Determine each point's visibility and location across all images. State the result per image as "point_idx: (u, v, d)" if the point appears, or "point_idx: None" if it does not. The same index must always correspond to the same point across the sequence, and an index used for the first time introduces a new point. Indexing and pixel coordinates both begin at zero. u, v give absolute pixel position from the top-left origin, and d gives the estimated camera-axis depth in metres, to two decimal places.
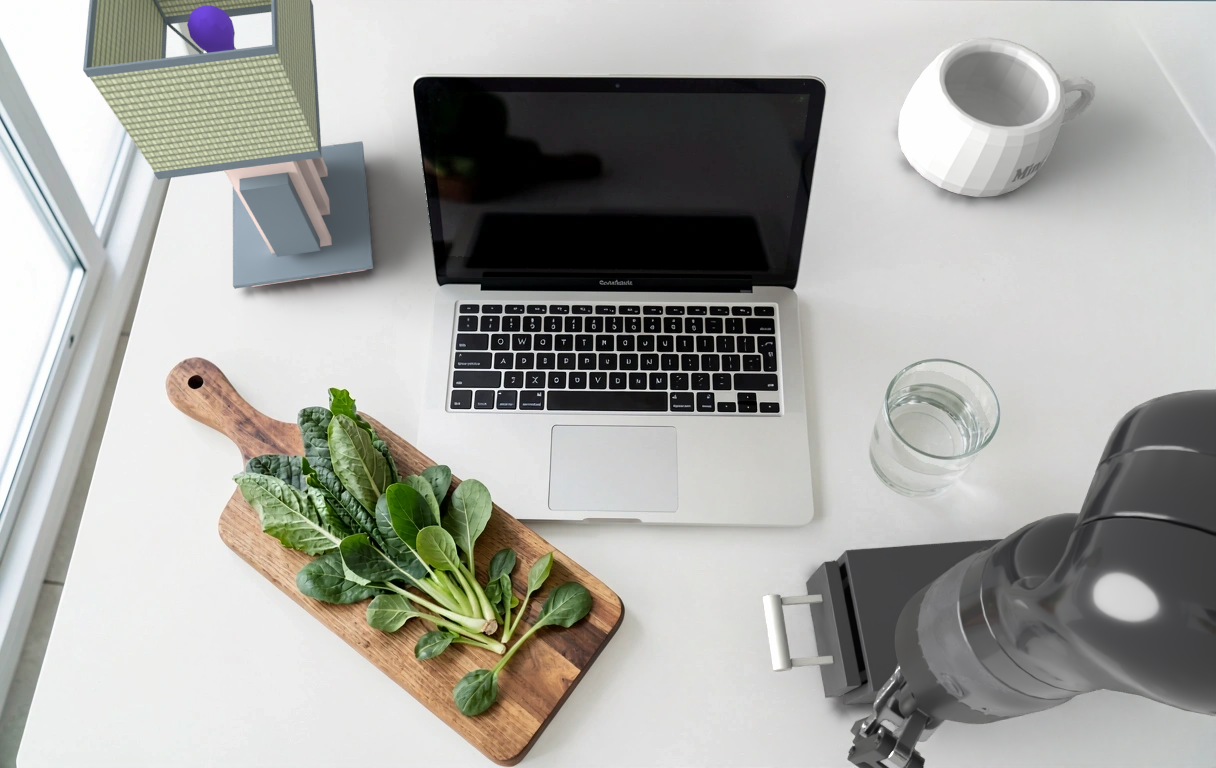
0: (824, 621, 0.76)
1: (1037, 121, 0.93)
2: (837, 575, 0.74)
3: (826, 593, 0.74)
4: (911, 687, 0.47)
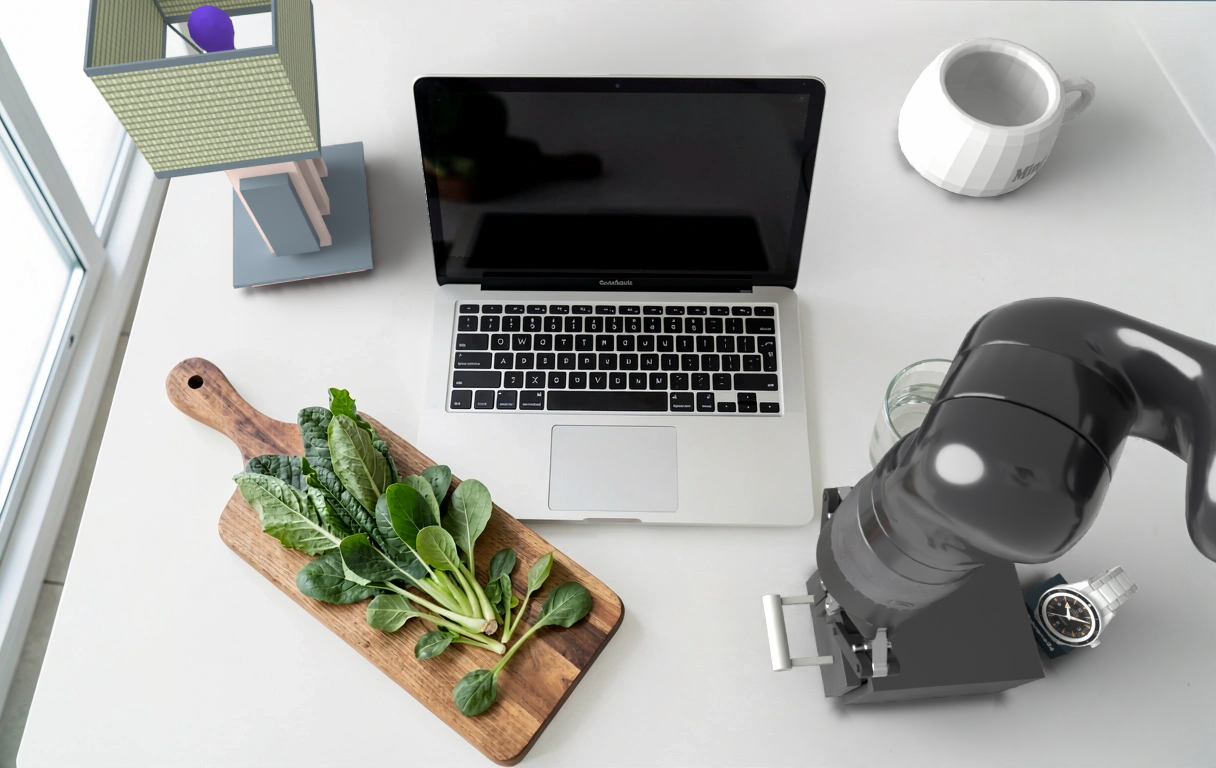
0: None
1: (1037, 121, 0.93)
2: None
3: None
4: (866, 619, 0.53)
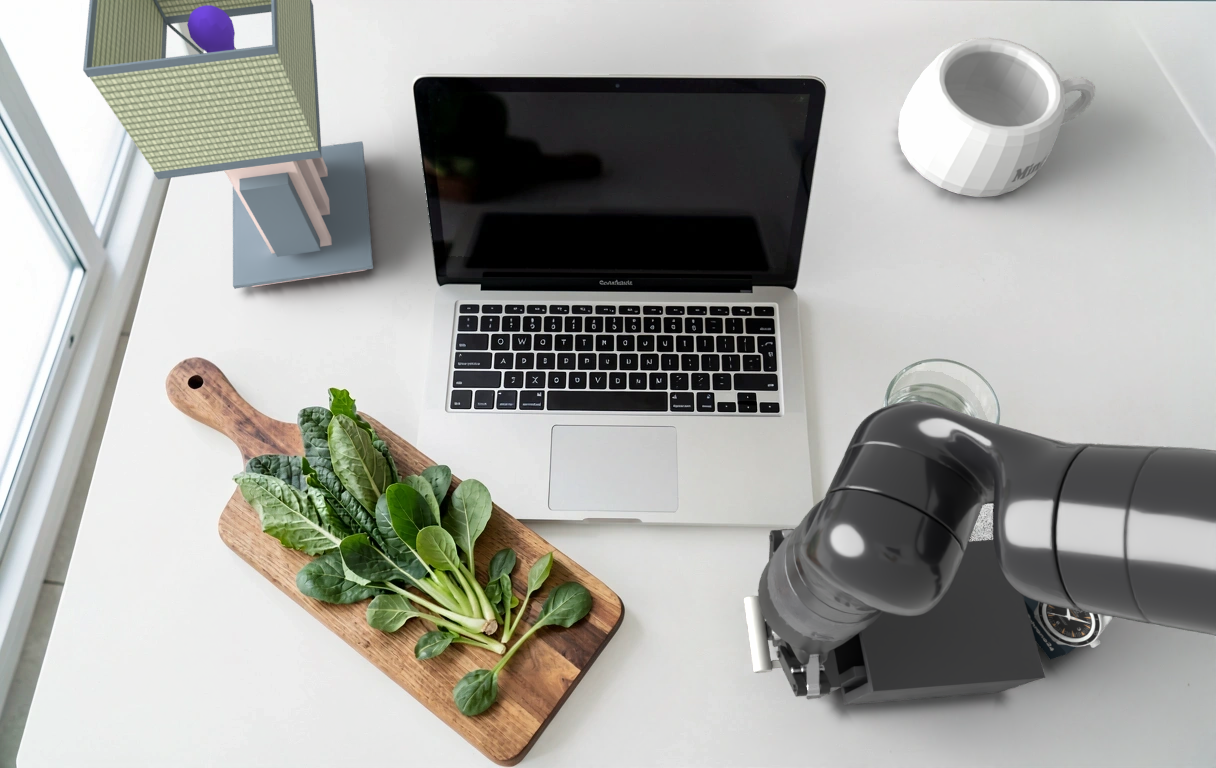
0: None
1: (1037, 121, 0.93)
2: None
3: None
4: (798, 647, 0.62)
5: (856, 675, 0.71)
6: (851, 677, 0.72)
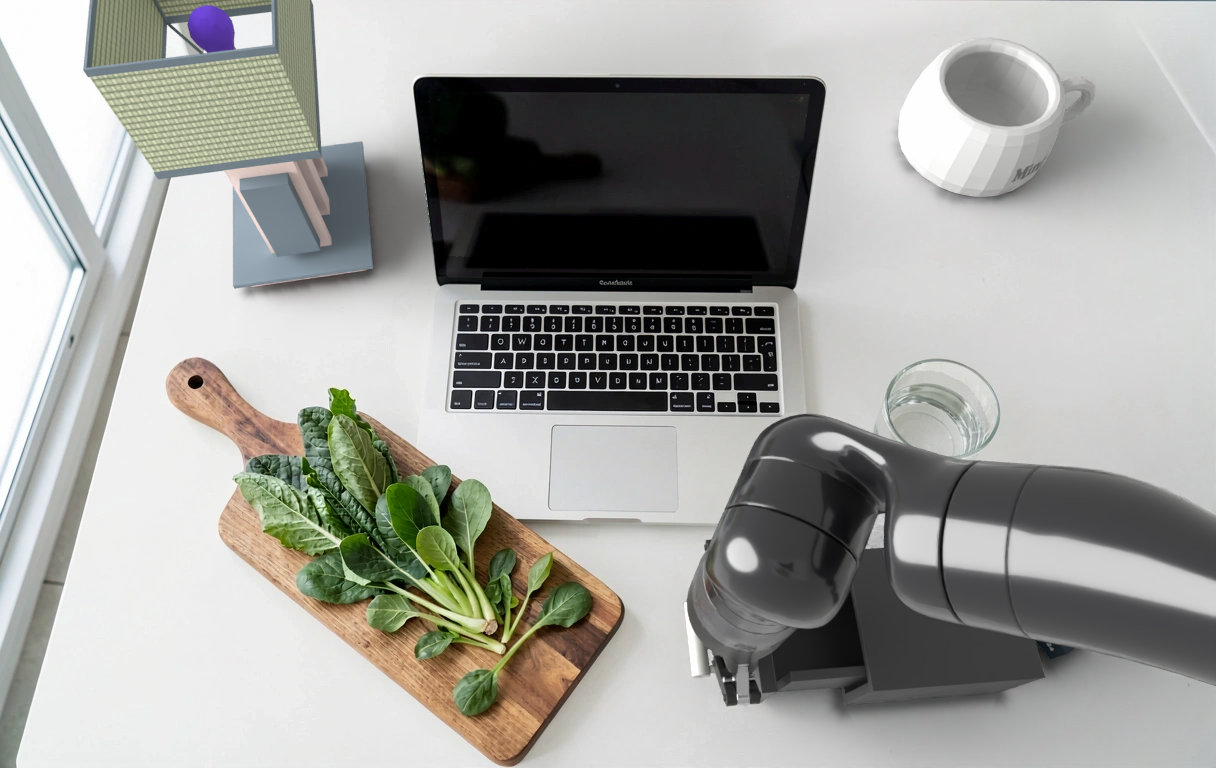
0: None
1: (1037, 121, 0.93)
2: None
3: None
4: (725, 657, 0.62)
5: (792, 680, 0.71)
6: (788, 682, 0.72)
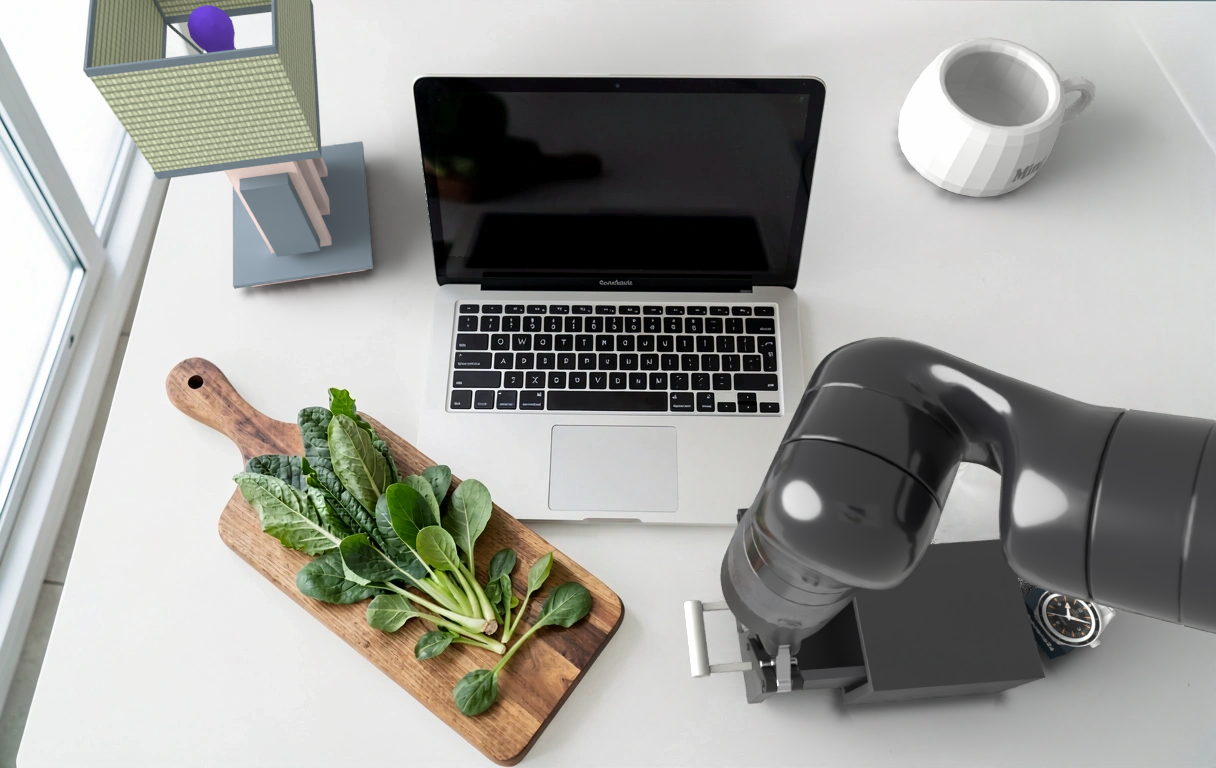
0: None
1: (1037, 121, 0.93)
2: None
3: None
4: (765, 637, 0.55)
5: None
6: None
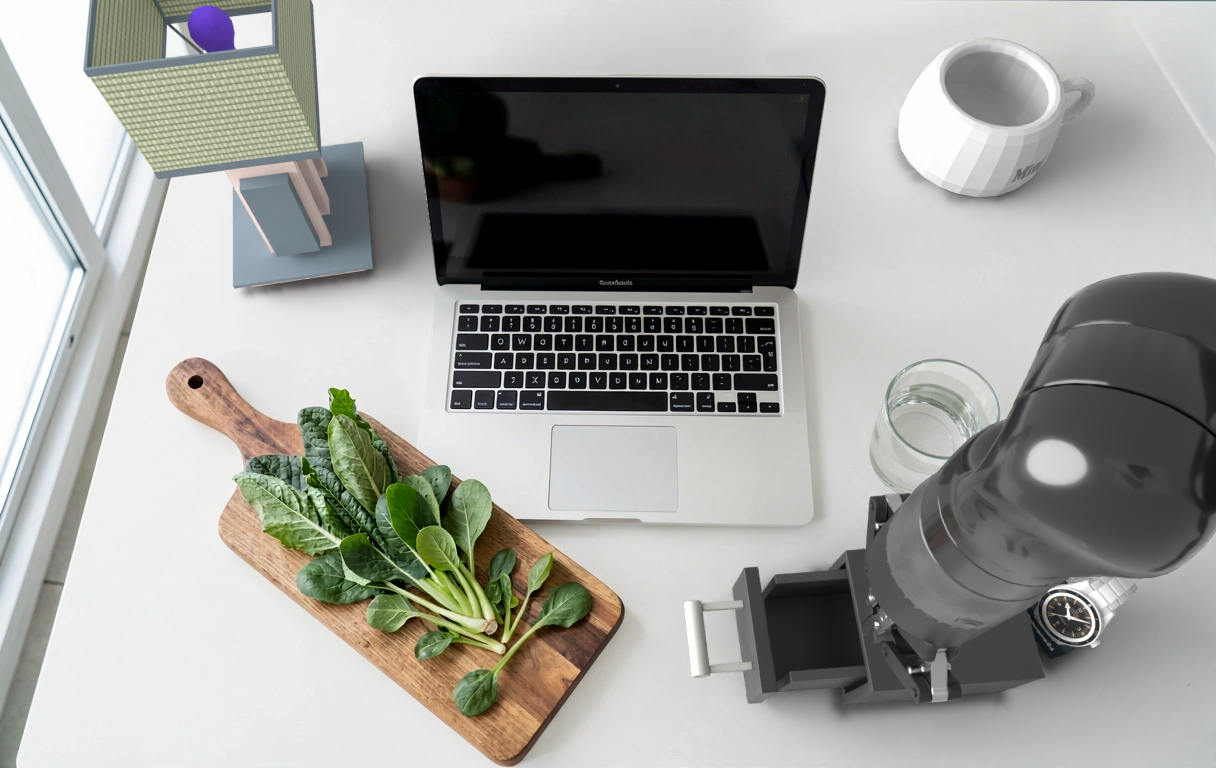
0: (745, 627, 0.75)
1: (1037, 121, 0.93)
2: (756, 581, 0.74)
3: (746, 599, 0.74)
4: (925, 639, 0.48)
5: (792, 680, 0.71)
6: (788, 682, 0.72)
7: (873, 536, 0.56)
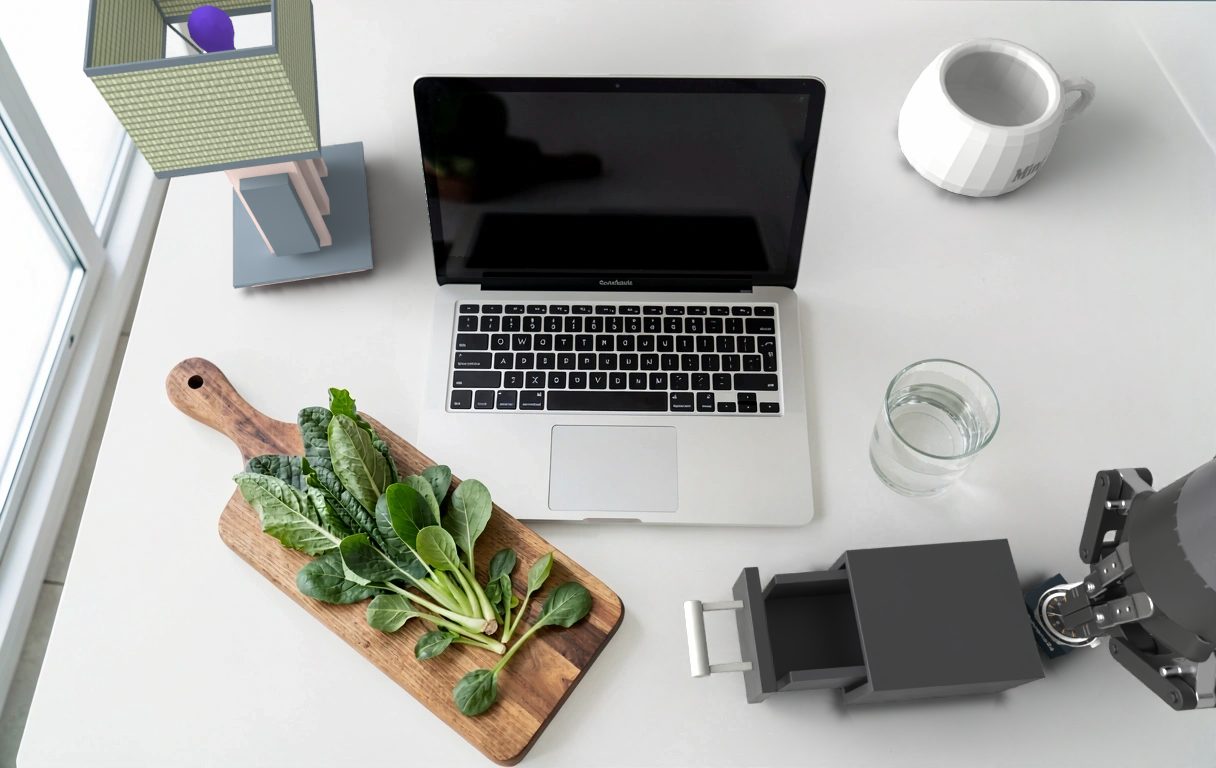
0: (745, 627, 0.75)
1: (1037, 121, 0.93)
2: (756, 581, 0.74)
3: (746, 599, 0.74)
4: (1208, 637, 0.41)
5: (792, 680, 0.71)
6: (788, 682, 0.72)
7: (1101, 516, 0.49)
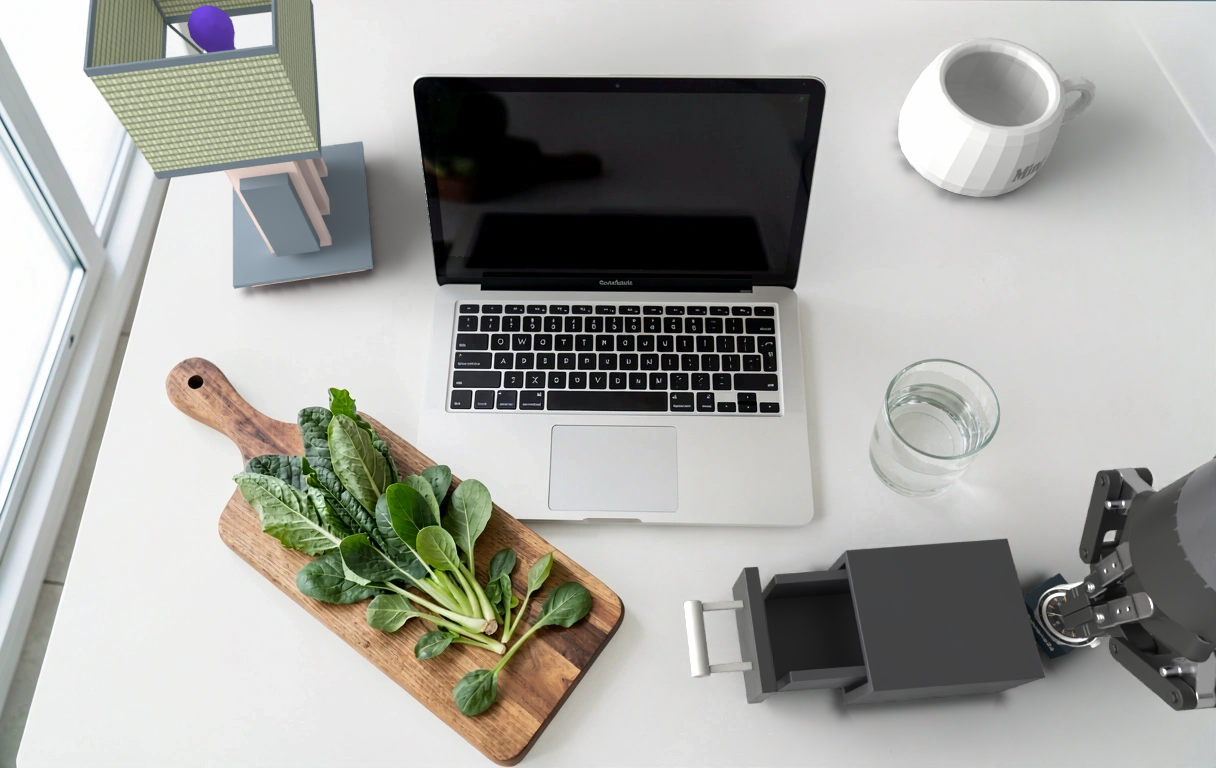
0: (745, 627, 0.75)
1: (1037, 121, 0.93)
2: (756, 581, 0.74)
3: (746, 599, 0.74)
4: (1208, 637, 0.41)
5: (792, 680, 0.71)
6: (788, 682, 0.72)
7: (1101, 516, 0.49)
